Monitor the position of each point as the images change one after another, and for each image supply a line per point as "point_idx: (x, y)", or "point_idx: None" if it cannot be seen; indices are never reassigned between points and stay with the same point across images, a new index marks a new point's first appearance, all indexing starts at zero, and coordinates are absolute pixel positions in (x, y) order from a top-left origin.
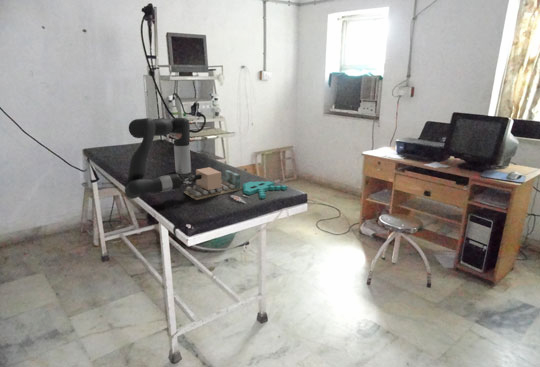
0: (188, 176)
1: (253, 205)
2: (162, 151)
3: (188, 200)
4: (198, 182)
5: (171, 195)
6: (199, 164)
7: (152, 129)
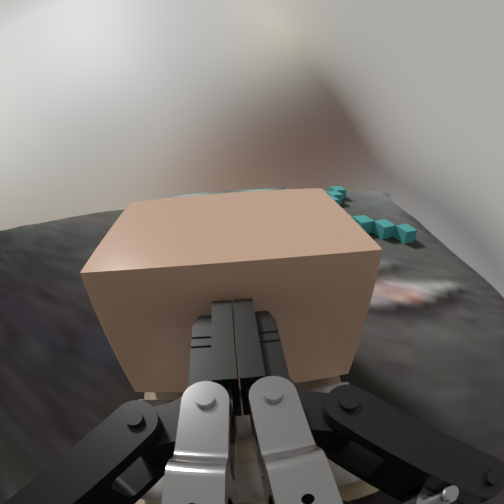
0: (328, 495)
1: (474, 273)
2: None
3: None
4: (165, 375)
5: None
6: None
7: None
